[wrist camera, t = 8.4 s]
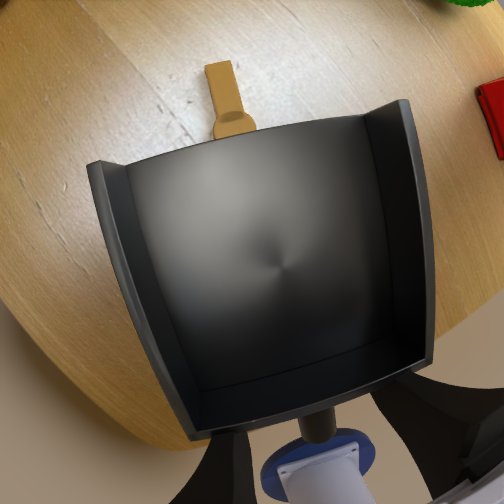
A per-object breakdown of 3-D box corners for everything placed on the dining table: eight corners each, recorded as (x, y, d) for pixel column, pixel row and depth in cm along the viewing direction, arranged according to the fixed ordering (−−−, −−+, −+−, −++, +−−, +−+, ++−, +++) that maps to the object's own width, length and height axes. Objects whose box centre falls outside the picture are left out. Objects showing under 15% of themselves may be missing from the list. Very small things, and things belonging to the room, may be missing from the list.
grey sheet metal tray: (397, 374, 14) (427, 406, 11) (210, 432, 13) (211, 477, 10) (367, 115, 11) (408, 98, 8) (117, 170, 10) (85, 165, 7)
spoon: (259, 146, 15) (261, 145, 15) (218, 156, 15) (218, 155, 15) (236, 62, 14) (237, 58, 14) (197, 70, 14) (196, 66, 14)
